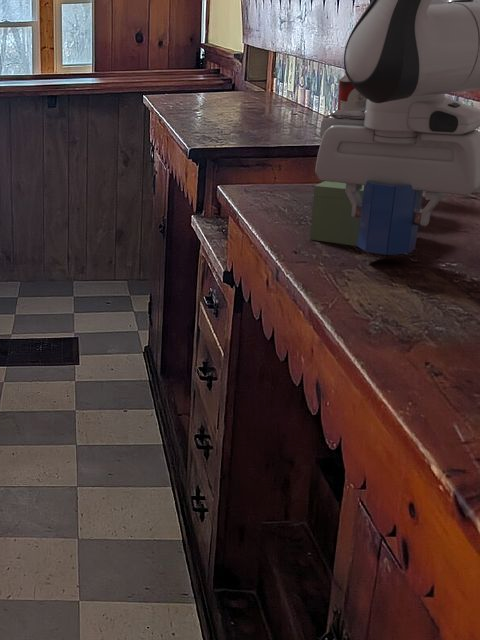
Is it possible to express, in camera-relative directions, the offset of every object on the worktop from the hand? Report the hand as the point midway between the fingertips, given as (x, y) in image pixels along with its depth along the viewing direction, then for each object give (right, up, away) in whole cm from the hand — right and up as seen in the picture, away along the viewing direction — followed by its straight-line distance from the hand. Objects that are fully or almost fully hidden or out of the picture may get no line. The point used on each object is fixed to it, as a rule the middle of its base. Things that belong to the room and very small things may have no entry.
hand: (389, 220), depth 114 cm
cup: (0, -3, +1) cm, 4 cm away
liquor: (+12, +12, +42) cm, 46 cm away
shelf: (+2, 0, +14) cm, 14 cm away
